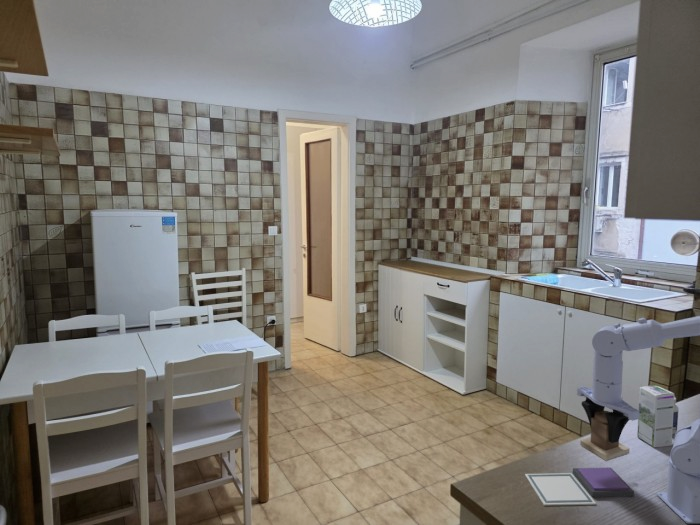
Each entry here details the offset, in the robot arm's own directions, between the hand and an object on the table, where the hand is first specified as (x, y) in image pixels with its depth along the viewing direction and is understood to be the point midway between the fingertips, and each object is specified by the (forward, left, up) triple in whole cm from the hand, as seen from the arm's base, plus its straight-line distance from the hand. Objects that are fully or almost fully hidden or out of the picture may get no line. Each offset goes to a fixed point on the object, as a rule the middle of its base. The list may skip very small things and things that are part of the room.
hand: (604, 436), depth 104 cm
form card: (-3, +12, -10) cm, 16 cm away
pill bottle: (+22, -29, -11) cm, 38 cm away
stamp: (0, 0, -3) cm, 4 cm away
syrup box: (+16, -22, -11) cm, 29 cm away
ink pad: (-2, +1, -10) cm, 11 cm away
